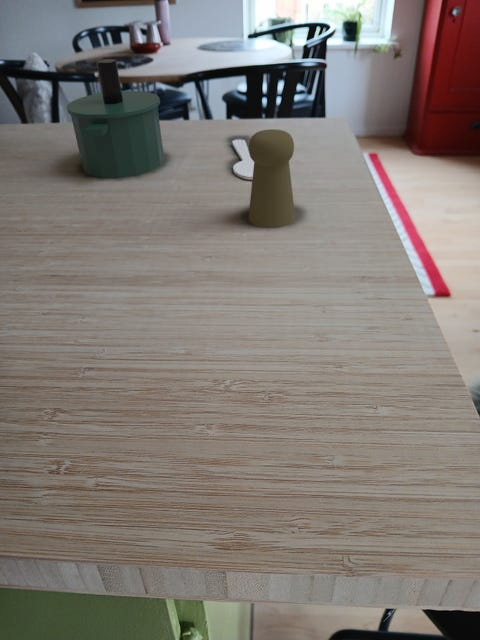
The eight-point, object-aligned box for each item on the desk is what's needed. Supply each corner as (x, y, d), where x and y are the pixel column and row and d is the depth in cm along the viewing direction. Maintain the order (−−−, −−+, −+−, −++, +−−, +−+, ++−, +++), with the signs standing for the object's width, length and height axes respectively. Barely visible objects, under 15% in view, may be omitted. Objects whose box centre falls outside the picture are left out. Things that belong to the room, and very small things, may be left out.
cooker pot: (65, 190, 76) (48, 124, 70) (106, 149, 90) (95, 92, 84) (147, 191, 74) (136, 123, 68) (176, 149, 88) (169, 90, 83)
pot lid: (53, 123, 72) (40, 71, 68) (88, 99, 83) (78, 53, 79) (146, 123, 70) (138, 69, 66) (170, 98, 81) (164, 51, 77)
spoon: (253, 140, 90) (253, 137, 90) (273, 178, 76) (273, 174, 75) (222, 143, 89) (222, 140, 89) (237, 181, 75) (236, 177, 75)
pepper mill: (260, 236, 61) (258, 143, 55) (240, 217, 66) (236, 129, 59) (304, 225, 63) (308, 134, 56) (282, 207, 68) (282, 121, 61)
